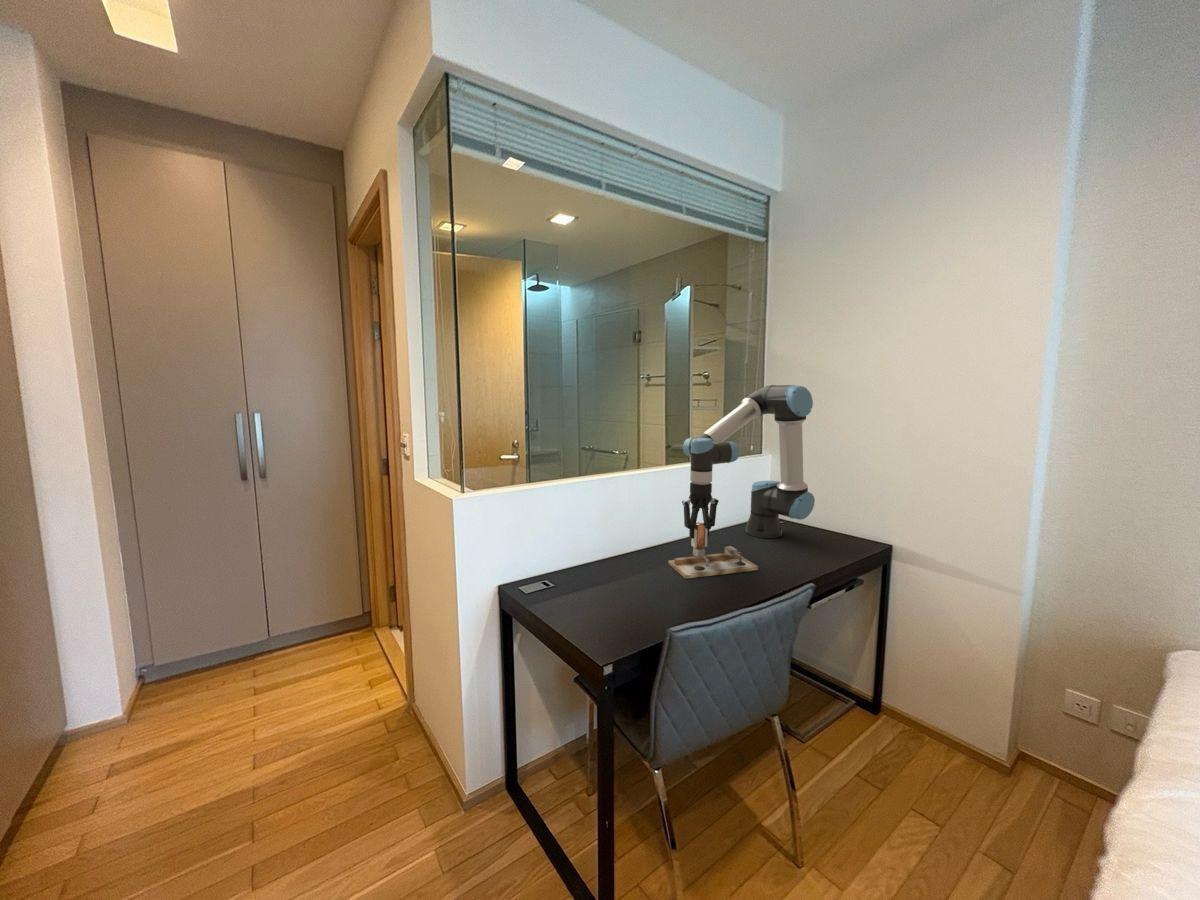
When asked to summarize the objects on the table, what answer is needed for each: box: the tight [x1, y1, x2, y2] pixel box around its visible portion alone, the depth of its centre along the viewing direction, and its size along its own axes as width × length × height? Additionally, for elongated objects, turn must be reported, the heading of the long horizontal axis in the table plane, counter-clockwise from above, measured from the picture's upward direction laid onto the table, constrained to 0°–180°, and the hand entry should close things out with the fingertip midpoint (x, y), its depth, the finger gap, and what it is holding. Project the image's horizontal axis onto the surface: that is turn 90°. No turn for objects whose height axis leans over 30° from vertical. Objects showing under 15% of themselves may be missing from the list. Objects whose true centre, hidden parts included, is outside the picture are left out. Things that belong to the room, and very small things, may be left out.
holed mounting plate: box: [667, 545, 759, 580], centre depth 170 cm, size 28×14×5 cm, turn 106°
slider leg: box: [692, 521, 709, 567], centre depth 168 cm, size 3×9×13 cm, turn 16°
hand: (699, 545), depth 171 cm, fingers closed on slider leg, 3 cm apart
